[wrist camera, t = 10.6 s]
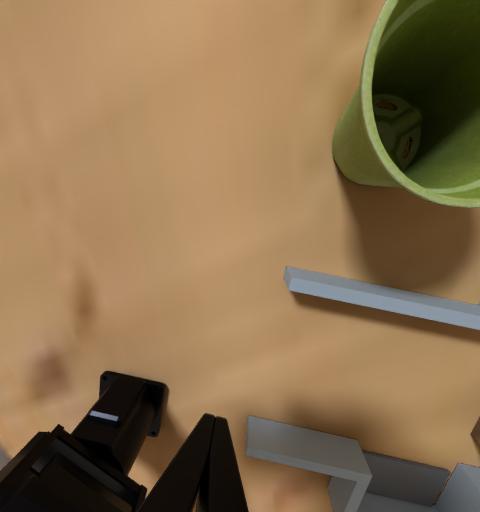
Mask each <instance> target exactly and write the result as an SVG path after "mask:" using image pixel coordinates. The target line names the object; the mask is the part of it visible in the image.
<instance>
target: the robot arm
mask: <svg viewBox="0 0 480 512" xmlns="http://www.w3.org/2000/svg"><path fill="white" fill-rule="evenodd" d="M159 388H160V389H159ZM164 395H165V385H164V384H162V383H159V382H155V381H150V380H146V379H141V378H137V377H132V376H128V375H123V374H119V373H115V372H110V371H105V372H104V373H103V374H102V375H101V376H100V392H99V399H98V401H97V402H96V403H95V404H94V405H93V407H92V408H91V409H90V410H89V412H88V413H87V415H86V416H85V417H84V418H83V420H82V421H81V422H80V423H79V424H78V426H77V427H76V428H75V429H74V431H73V432H72V433H71V434H69V433H68V432H67V431H65V430H64V427H63V426H61V425H60V424H58V425H57V426H56V427H55V429H54V430H53V431H52V432H51V433H50V432H49V431H48V432H38V433H37V434H36V435H35V436H34V437H33V438H32V439H31V440H30V441H29V442H28V443H27V445H26V446H25V447H24V448H23V449H22V450H21V451H20V452H19V453H18V454H17V455H16V456H15V457H14V458H13V459H12V460H11V461H10V462H9V463H8V464H7V465H6V466H5V467H4V468H3V469H2V470H1V471H0V512H192V511H193V508H194V505H195V501H196V498H197V504H196V512H249V511H248V507H247V502H246V498H245V494H244V490H243V485H242V481H241V477H240V473H239V468H238V464H237V460H236V456H235V451H234V447H233V443H232V439H231V434H230V430H229V426H228V422H227V419H226V418H223V417H219V416H216V417H215V416H214V415H212V414H208V413H205V414H204V415H203V416H202V418H201V419H200V420H199V422H198V423H197V425H196V426H195V428H194V429H193V431H192V432H191V433H190V435H189V436H188V438H187V439H186V441H185V442H184V444H183V445H182V447H181V448H180V449H179V451H178V452H177V454H176V455H175V457H174V458H173V460H172V461H171V463H170V464H169V465H168V467H167V468H166V470H165V471H164V473H163V474H162V476H161V477H160V478H159V480H158V481H157V483H156V484H155V486H154V487H153V489H152V490H151V492H150V493H149V494H148V496H147V497H146V493H147V488H146V487H145V486H143V485H141V486H140V485H139V484H138V483H136V482H135V481H134V480H132V479H131V478H129V477H128V474H129V472H130V470H131V468H132V466H133V464H134V462H135V459H136V457H137V455H138V453H139V451H140V449H141V447H142V445H143V443H144V441H145V439H146V436H151V437H157V436H158V433H159V431H160V425H161V417H162V410H163V402H164ZM198 490H199V491H198ZM197 494H198V497H197ZM145 497H146V499H145Z"/></svg>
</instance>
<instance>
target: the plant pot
mask: <svg viewBox="0 0 480 512" xmlns="http://www.w3.org/2000/svg"><path fill="white" fill-rule="evenodd" d="M379 102H388V103H392V104H394V105H395V106H396V108H397V109H396V110H390V109H388V108H383V107H381V108H379V107H377V104H378V103H379ZM379 136H380V137H381V140H380V137H379ZM410 137H411V139H412V140H413V141H412V145H411V149H410V152H409V154H408V155H407V157H405V158H403V156H402V155H403V153H404V150H405V149H406V145H407V143H408V138H410ZM332 151H333V156H334V159H335V161H336V163H337V165H338V166H339V168H340V170H341V171H342V173H343V174H344V175H345V176H346V177H347V178H348V179H349V180H351V181H353V182H355V183H358V184H361V185H369V186H384V187H398V188H403V189H404V190H406V191H407V192H409V193H411V194H413V195H415V196H417V197H419V198H421V199H423V200H426V201H429V202H432V203H435V204H439V205H445V206H451V207H463V208H478V207H480V0H387V1H386V3H385V5H384V6H383V8H382V10H381V12H380V14H379V16H378V18H377V20H376V22H375V25H374V27H373V30H372V32H371V35H370V38H369V41H368V43H367V47H366V51H365V54H364V58H363V64H362V69H361V76H360V84H359V86H358V88H357V90H356V92H355V93H354V95H353V97H352V99H351V101H350V102H349V104H348V106H347V107H346V109H345V111H344V113H343V114H342V116H341V118H340V120H339V122H338V124H337V126H336V128H335V131H334V135H333V142H332Z"/></svg>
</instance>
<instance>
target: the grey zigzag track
mask: <svg viewBox="0 0 480 512" xmlns="http://www.w3.org/2000/svg"><path fill="white" fill-rule="evenodd" d="M284 280H285V282H286V285H287V288H288V290H290V291H295V292H299V293H304V294H309V295H314V296H319V297H324V298H328V299H333V300H338V301H343V302H348V303H352V304H357V305H362V306H367V307H372V308H376V309H381V310H386V311H391V312H396V313H401V314H405V315H410V316H415V317H420V318H425V319H429V320H434V321H439V322H444V323H449V324H453V325H458V326H463V327H468V328H473V329H478V330H480V303H479V305H474V304H469V303H465V302H460V301H455V300H450V299H445V298H440V297H435V296H430V295H425V294H421V293H416V292H411V291H406V290H401V289H396V288H391V287H386V286H381V285H377V284H372V283H367V282H362V281H357V280H352V279H347V278H342V277H337V276H333V275H328V274H323V273H318V272H313V271H308V270H303V269H298V268H293V267H289V266H286V269H285V273H284ZM245 456H249V457H254V458H258V459H262V460H267V461H271V462H275V463H279V464H284V465H288V466H292V467H297V468H301V469H305V470H310V471H314V472H318V473H323V474H327V475H331V476H332V478H331V480H330V483H329V485H328V492H329V496H330V500H331V504H332V508H333V512H480V468H479V467H474V466H470V465H465V464H461V463H458V465H457V467H456V468H455V470H454V472H453V474H452V475H451V477H450V479H449V481H448V482H447V484H446V486H445V488H444V489H443V491H442V493H441V495H440V497H439V498H438V500H437V502H436V504H435V505H433V503H434V501H435V500H436V498H437V496H438V494H439V493H440V491H441V489H442V487H443V486H444V484H445V482H446V480H447V478H448V477H449V475H450V472H449V471H448V470H447V469H442V468H438V467H434V466H429V465H425V464H420V463H416V462H412V461H407V460H403V459H398V458H394V457H390V456H385V455H381V454H376V453H372V452H368V451H363V450H361V448H360V446H359V443H358V441H357V440H355V439H350V438H346V437H342V436H337V435H333V434H328V433H324V432H319V431H315V430H311V429H306V428H302V427H297V426H293V425H288V424H284V423H280V422H275V421H271V420H266V419H262V418H258V417H253V416H249V417H248V421H247V431H246V453H245Z"/></svg>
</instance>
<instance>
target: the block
mask: <svg viewBox="0 0 480 512" xmlns="http://www.w3.org/2000/svg"><path fill="white" fill-rule="evenodd" d="M471 435H472V437H473V438H474V439H475V440H476V441H477V442H478V443H479V444H480V417H479V419H478V421H477V423H476V425H475V426H474V428H473V430H472V432H471Z"/></svg>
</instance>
